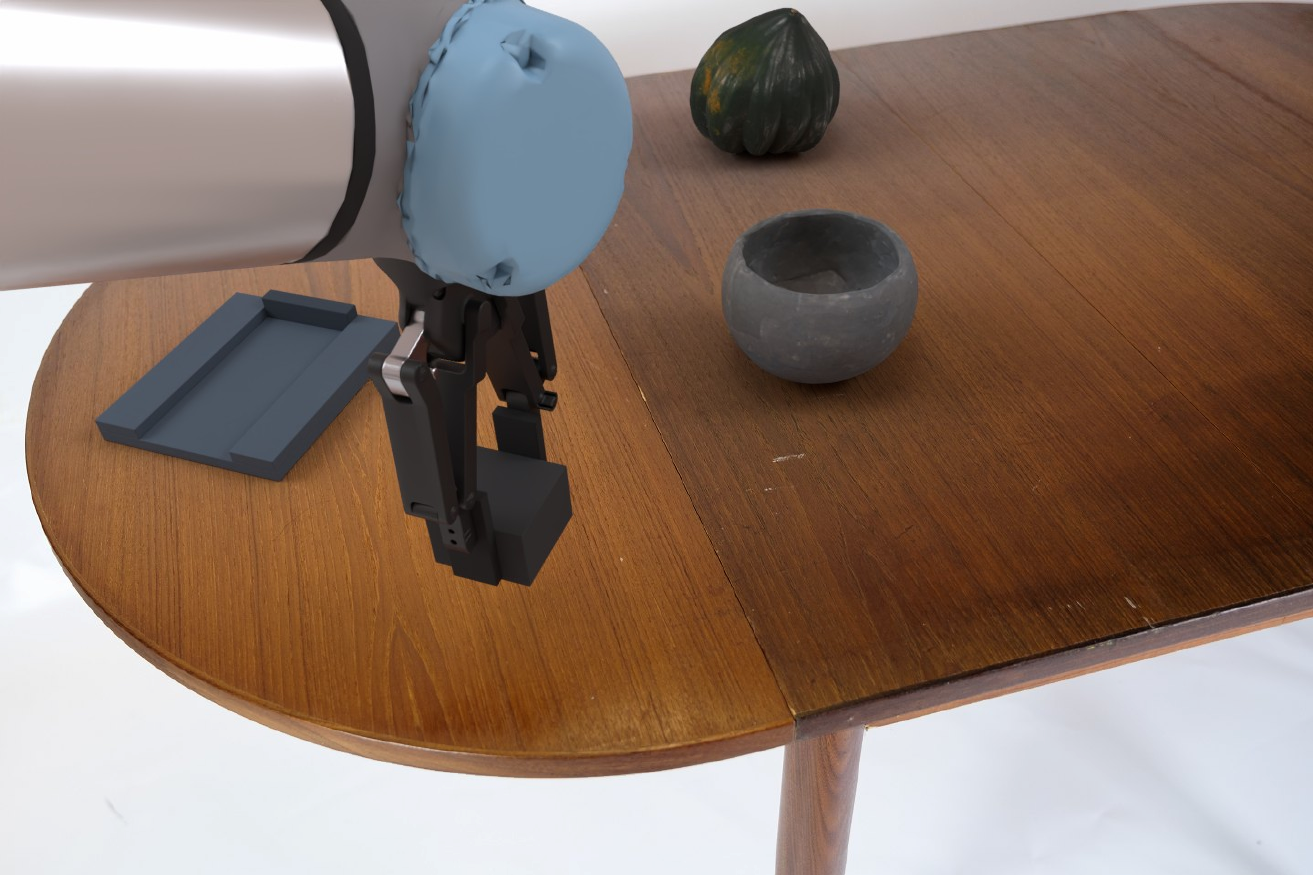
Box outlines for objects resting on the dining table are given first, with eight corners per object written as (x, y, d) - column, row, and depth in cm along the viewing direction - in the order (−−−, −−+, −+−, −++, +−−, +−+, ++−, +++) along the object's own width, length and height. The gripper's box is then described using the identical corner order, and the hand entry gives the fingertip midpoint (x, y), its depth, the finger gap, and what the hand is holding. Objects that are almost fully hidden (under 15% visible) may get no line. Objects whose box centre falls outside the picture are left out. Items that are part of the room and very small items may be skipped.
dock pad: (279, 482, 82) (268, 451, 80) (103, 439, 87) (89, 410, 85) (402, 341, 95) (395, 311, 93) (243, 310, 99) (233, 282, 97)
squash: (658, 73, 120) (702, -5, 106) (781, 49, 125) (839, -29, 111) (702, 196, 119) (752, 134, 105) (824, 168, 124) (888, 104, 109)
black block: (530, 587, 63) (521, 537, 60) (435, 562, 64) (422, 512, 62) (573, 515, 67) (567, 465, 64) (482, 493, 69) (473, 444, 66)
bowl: (745, 429, 84) (746, 319, 78) (705, 317, 95) (703, 212, 89) (936, 402, 86) (953, 291, 79) (875, 294, 97) (885, 189, 90)
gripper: (405, 298, 43) (488, 678, 58) (598, 94, 56) (624, 445, 71) (240, 268, 45) (362, 641, 60) (463, 78, 58) (517, 422, 73)
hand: (504, 534), depth 65 cm, fingers closed on black block, 6 cm apart
